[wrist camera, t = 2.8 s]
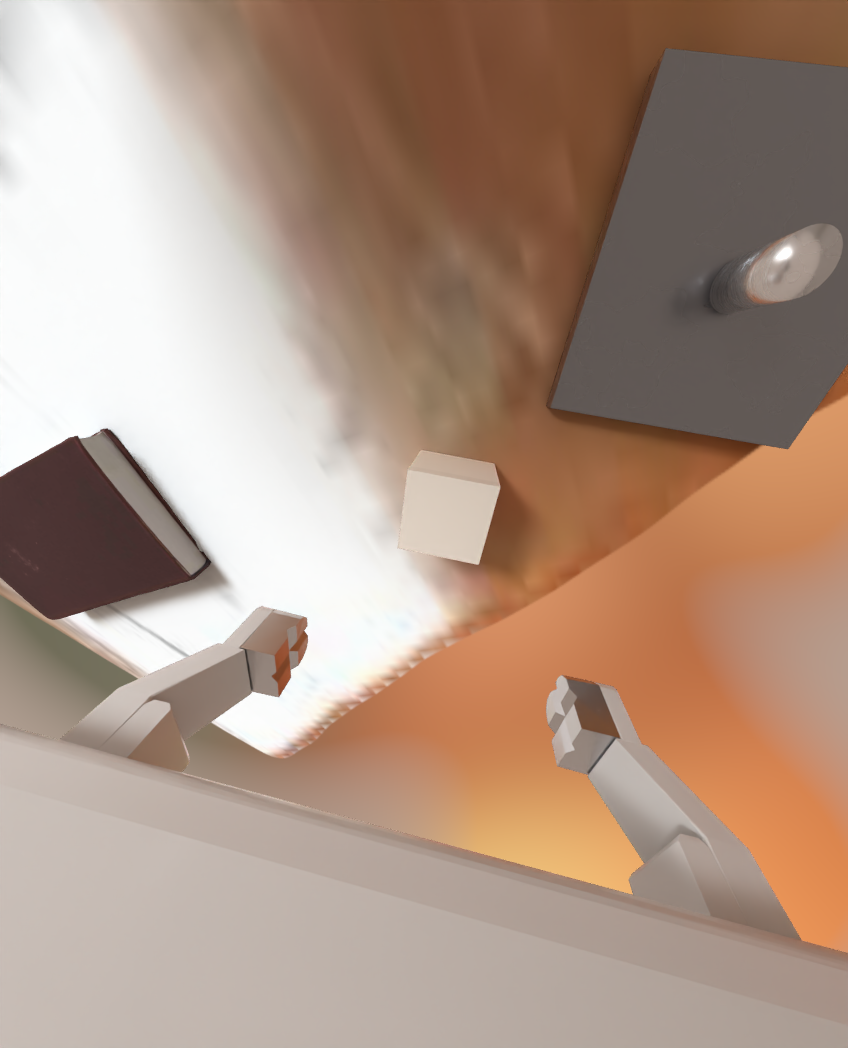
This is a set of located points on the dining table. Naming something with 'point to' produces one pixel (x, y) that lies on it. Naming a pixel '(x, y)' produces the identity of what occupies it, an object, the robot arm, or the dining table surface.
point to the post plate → (720, 255)
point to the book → (89, 529)
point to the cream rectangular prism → (448, 506)
